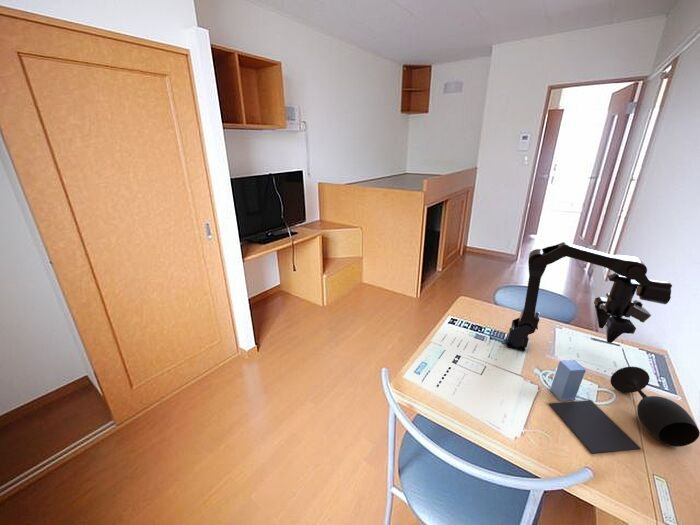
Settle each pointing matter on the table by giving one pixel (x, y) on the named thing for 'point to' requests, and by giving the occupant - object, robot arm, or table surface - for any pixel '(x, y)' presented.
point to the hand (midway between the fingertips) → (604, 334)
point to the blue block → (567, 379)
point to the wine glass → (657, 410)
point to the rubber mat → (593, 427)
